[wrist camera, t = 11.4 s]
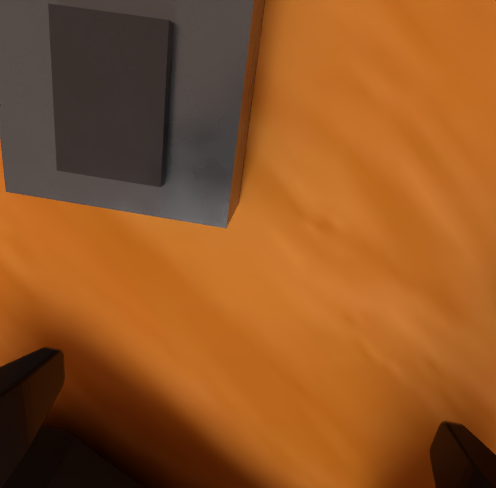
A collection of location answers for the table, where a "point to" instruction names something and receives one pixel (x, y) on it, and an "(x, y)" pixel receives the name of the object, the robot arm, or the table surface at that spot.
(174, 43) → the panel
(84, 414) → the table surface
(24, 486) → the portable speaker
